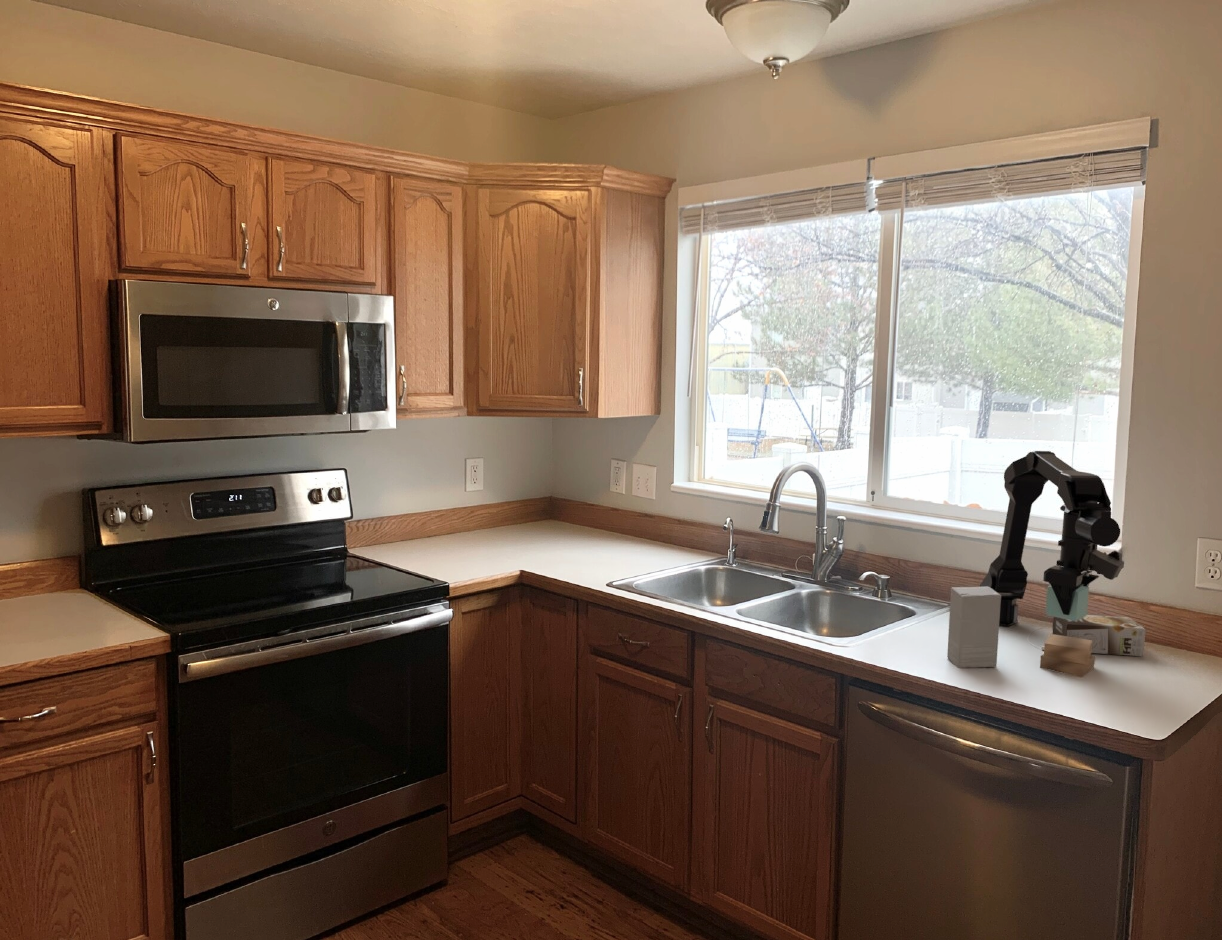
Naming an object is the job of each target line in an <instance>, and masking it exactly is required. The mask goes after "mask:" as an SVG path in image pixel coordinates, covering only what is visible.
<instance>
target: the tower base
mask: <svg viewBox="0 0 1222 940" xmlns="http://www.w3.org/2000/svg"><path fill="white" fill-rule="evenodd" d="M1095 659H1096V656H1095V655H1091V656H1090V659H1089V662H1088V665H1085V664H1079V663H1073V662H1067V661H1061V660H1055V659H1049V658H1044V653H1043V654H1041V655H1040V661H1039V668H1040V669H1043V670H1047V671H1048V670H1049V671H1052V672H1056V673H1061V674H1064V675H1065V674H1066V675H1070V676H1073V677H1078V678H1082V677H1084V676H1085V675H1087V674H1088V673H1089V672H1090V671H1092V670H1093V669H1095Z"/></svg>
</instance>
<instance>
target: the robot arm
mask: <svg viewBox="0 0 1222 940" xmlns="http://www.w3.org/2000/svg"><path fill="white" fill-rule="evenodd" d="M1003 480H1004V490H1005V491H1006V493H1007V496H1008V498H1009V501H1008V507H1007V512H1006V518H1005V523H1004V529H1003V533H1002V539H1001V545H1000V550H999V554H998V555H997V557H996V558H995V559H994V560H993V561H992V562H991V563H990V565H989V568H988V573H987V574H986V575H985V577H984V578H983V579H982V581H981V582H980V585H979V587H987V586H988V587H990V588H992V589H993V590H994V591H996V592H997V593H999V594H1000V595H1001V604H1000V619H999V626H1002V627H1003V626H1004V627H1010V626H1012V625H1014V624H1016V623H1018V618H1019V617H1018V616H1019V615H1018V614H1019V604H1017V601H1018V600H1023V599H1024V596H1025V592H1026V588H1027V584H1028V580H1027V579H1028V576H1029V573H1028V571H1027V570H1026V568H1025V566H1024V565H1023V561H1022V559H1023V554H1024V547H1025V544H1026V537H1027V532H1028V527H1029V521H1030V516H1031V511H1032V506H1033V504H1034V503H1035V502H1036V501H1037V500H1038V499H1039V497H1040V496H1041V495H1042V494H1043V491H1044V488H1045V484H1046V483H1047V482H1048V481H1049V482H1050V483H1052V484H1053V485H1055V486H1056V487H1057V491H1056V493H1057V495H1058V496H1059V497H1060V498H1061V500H1062V502H1063V504H1062V505H1061V506H1060V507H1059V509H1060V511H1062V512H1063V519H1062V530H1061V533H1062V534H1061V539H1059V540H1058V542H1057V546H1058V547H1060V556H1059V559H1057V560H1056V565H1053V566H1050V567H1048V568H1047V569H1046V570H1044V571H1043V580H1042V581H1044V582H1046V583H1048V584H1049V585H1051V587H1052V589H1053V591H1054V593H1055V595H1056V598H1057V600H1058V603H1059V605H1060V607H1061V610H1062V612H1063V614H1064V615H1069V614H1070V611H1071V607H1072V603H1073V599H1074V595H1075V591H1076V590H1077V589H1079V588H1080V587H1082V586H1085V587H1090V584H1091V583H1093V582H1094V581H1096V580H1097V579H1099V578H1100V575H1101V576H1103V577H1104V578H1106V579H1108V580H1111V581H1112V580H1114V579H1115V578H1118V577H1119V574H1120V572H1121V571H1122V569H1124V567H1125V561H1123V555H1122V554H1123V553H1121V552H1120V551H1117V550H1113V551H1111V552H1109V553H1107V552H1104V551H1103V552H1102V551H1100V550H1099V549H1098V546H1099V547H1110V546H1111V545H1114V544H1115V543H1116V542H1117V541H1118V539H1119V538H1120V535H1121V527H1120V526H1119V525H1120V524H1119V523H1118V522H1117V521H1116V520H1115V519H1114V518H1112V507H1111V505H1112V502H1111V499H1110V497H1109V495H1108V493H1107V490H1106V487H1105V486H1106V485H1105V484H1104V482H1103V480H1102V478H1101V477H1100V476H1099V475H1097V474H1093V473H1090V472H1085V471H1084V472H1083V471H1079V470H1077V469H1076V468H1074V467H1072V466H1071V465H1069V464H1068V463H1067V462H1065V461H1063V460H1062V459H1061V458H1059V457H1057V456H1056V454H1055V452H1052V451H1050V450H1033V451H1030V452H1027V454H1026V455H1025V456H1023V457H1021V458H1019V459H1016V460H1014V461H1012V462H1011V464H1009V466H1007V468H1006V469H1005V470H1004V473H1003ZM1093 572H1095V573H1096V574H1097V575H1096V574H1093Z"/></svg>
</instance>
